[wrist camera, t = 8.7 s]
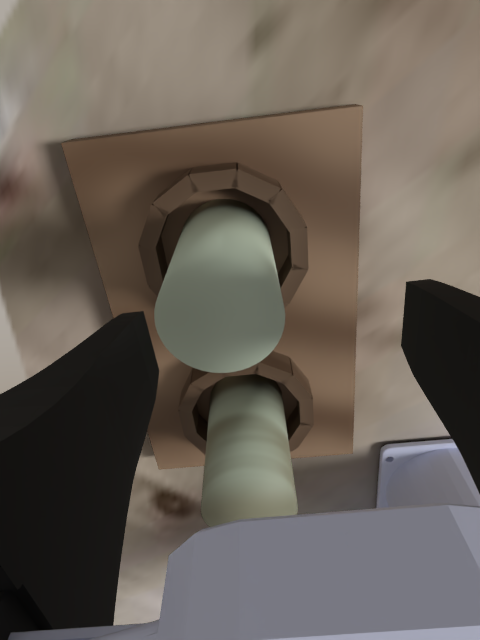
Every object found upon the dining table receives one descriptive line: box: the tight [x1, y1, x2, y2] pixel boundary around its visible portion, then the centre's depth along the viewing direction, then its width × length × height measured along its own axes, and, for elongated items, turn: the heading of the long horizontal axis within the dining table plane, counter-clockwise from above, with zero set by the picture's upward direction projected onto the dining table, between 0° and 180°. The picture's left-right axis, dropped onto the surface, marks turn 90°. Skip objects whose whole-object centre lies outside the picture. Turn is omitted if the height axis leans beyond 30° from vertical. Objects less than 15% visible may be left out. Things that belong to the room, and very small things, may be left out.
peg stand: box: [61, 104, 363, 527], centre depth 19 cm, size 19×12×8 cm, turn 6°
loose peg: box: [154, 199, 285, 373], centre depth 16 cm, size 4×4×7 cm
